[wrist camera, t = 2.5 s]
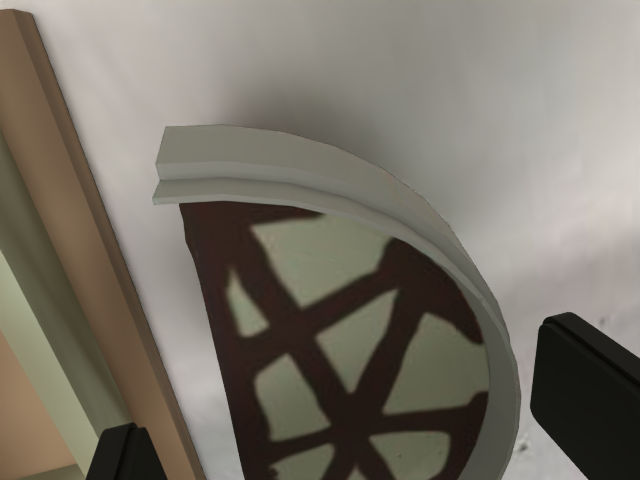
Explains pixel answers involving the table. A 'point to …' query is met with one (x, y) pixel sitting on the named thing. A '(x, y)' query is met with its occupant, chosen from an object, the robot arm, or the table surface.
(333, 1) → the table surface
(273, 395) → the food container
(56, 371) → the fitting board
